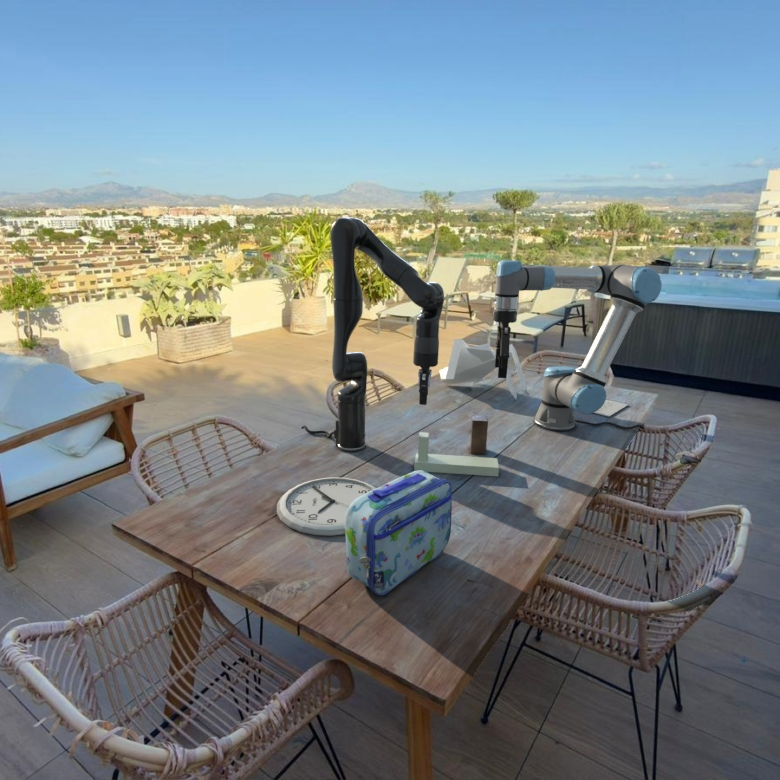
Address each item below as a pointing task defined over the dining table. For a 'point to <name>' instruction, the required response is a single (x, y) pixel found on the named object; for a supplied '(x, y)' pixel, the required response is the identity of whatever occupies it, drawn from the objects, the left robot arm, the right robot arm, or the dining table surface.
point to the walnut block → (479, 434)
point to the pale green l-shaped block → (452, 462)
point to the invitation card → (610, 408)
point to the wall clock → (320, 505)
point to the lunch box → (397, 529)
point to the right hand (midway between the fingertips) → (500, 372)
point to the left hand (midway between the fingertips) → (423, 399)
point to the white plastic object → (478, 365)
